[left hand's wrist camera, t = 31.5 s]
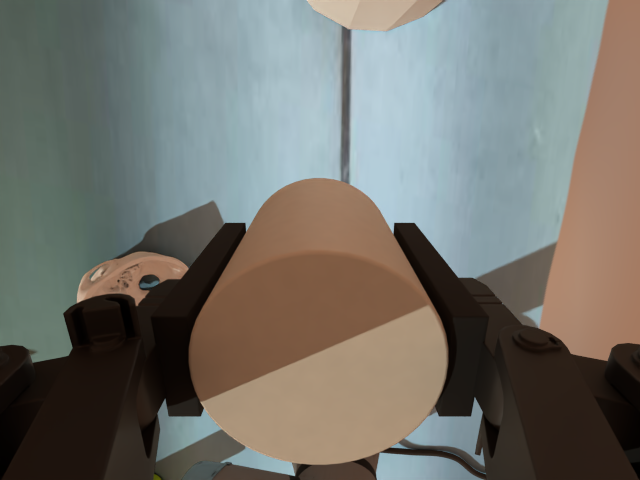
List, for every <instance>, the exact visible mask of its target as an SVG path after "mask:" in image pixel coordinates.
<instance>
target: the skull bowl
mask: <svg viewBox="0 0 640 480" xmlns="http://www.w3.org/2000/svg"><path fill="white" fill-rule="evenodd" d="M105 264H106V265H105ZM103 265H104V266H103ZM101 266H102V267H101ZM99 267H101V268H99ZM98 268H99V269H98ZM96 269H98V271H97V272H96V273H95V274H94V275H93V277H92V278H91V280H90V279H89V276H90V275H91V274H92V273H93V272H94V271H95V270H96ZM188 269H189V268H188V267H187V266H186V265H185V264H184V263H183V262H181V261H180V260H178V259H176V258H174V257H169V256H165V255H160V254H157V253H152V252H141V251H140V252H135V253H132V254H129V255H127V256H125V257H123V258H120V259H113V260H109V261H106V262H103V263H101V264H99V265H97V266H96V267H94V268H93V269H91V270H90V271H88V272H87V273H86V274H85V275H84V276H83V278H82V280H81V282H80V285H79V290H78V294H77V303H78V302H80V301H83V300H85V299H88V298H91V297H94V296H99V295H104V294H115V293H121V294H127V295H130V296H131V297H133V298H134V299H135V303H136V306H138V303H139V302H140V301H141V300H142V299H143V298H145V296H146V295H147V294H148V292H149V290H141V289H139V285H138V284H139V281H140V279H141V278H142V277H143V276H144V275H149V274H153V275H155V276H157V277H158V278H159V280H160V282H159V284H160V283H161V282H163V281H165V280H167V279H181V278H182V277H183V275H184V274H185V273H186V272H187V270H188ZM121 277H123V278H121ZM130 279H131V280H130ZM117 280H120V281H119V282H117ZM124 283H125V284H124ZM127 284H128V285H127ZM127 286H128V287H127Z"/></svg>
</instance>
